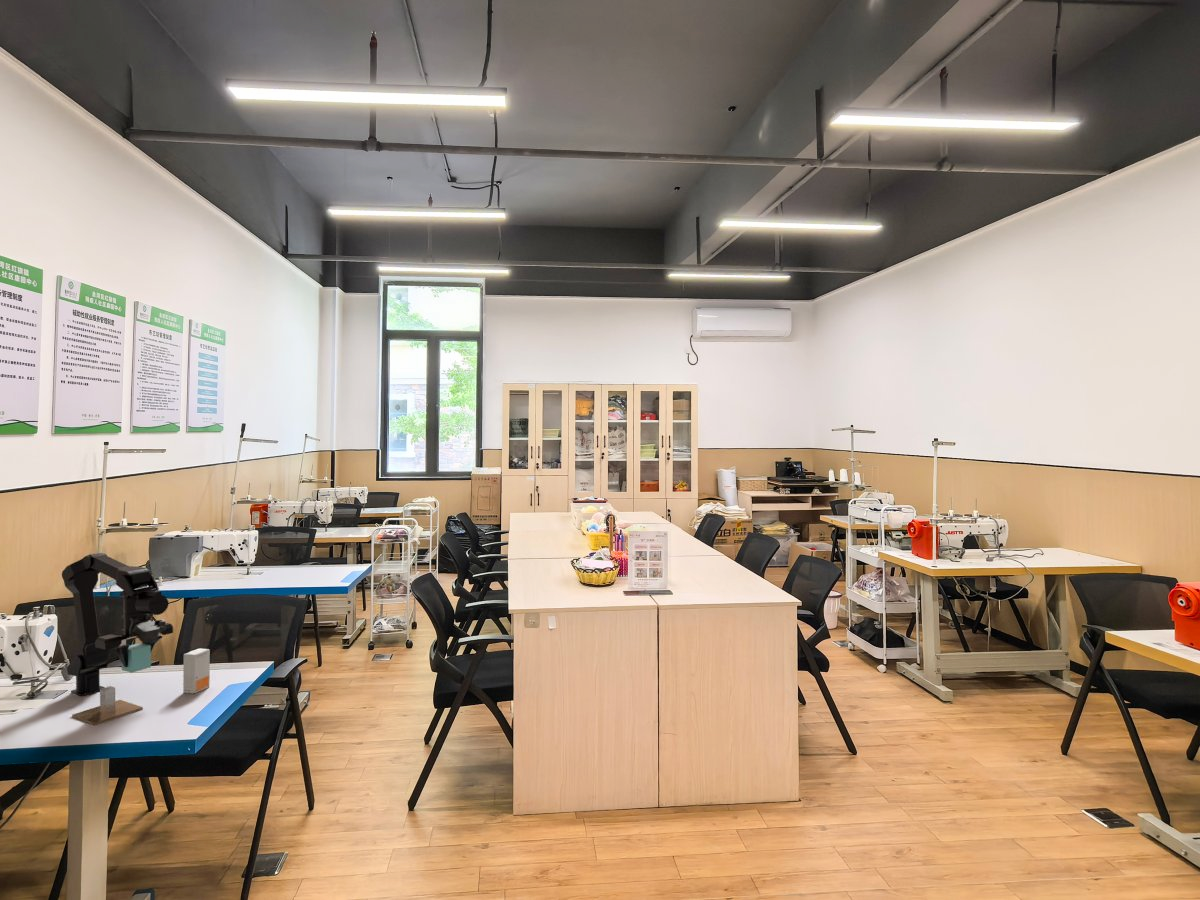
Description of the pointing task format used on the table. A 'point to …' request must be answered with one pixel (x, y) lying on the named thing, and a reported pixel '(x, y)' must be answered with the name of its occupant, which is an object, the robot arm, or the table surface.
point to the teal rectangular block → (138, 657)
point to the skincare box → (196, 670)
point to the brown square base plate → (107, 708)
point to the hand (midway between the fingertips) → (136, 664)
